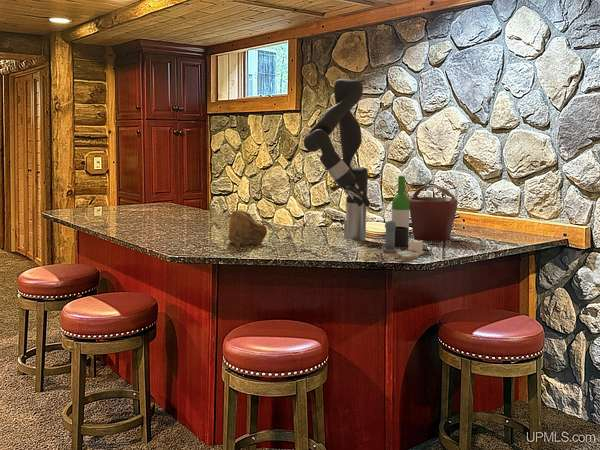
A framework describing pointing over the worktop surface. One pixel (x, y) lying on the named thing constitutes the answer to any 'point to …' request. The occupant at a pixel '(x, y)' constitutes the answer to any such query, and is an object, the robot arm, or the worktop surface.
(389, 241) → the pawn
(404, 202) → the wine bottle
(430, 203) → the bucket
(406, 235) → the mug
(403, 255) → the board
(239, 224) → the rough brown rock
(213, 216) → the worktop surface
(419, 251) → the die
